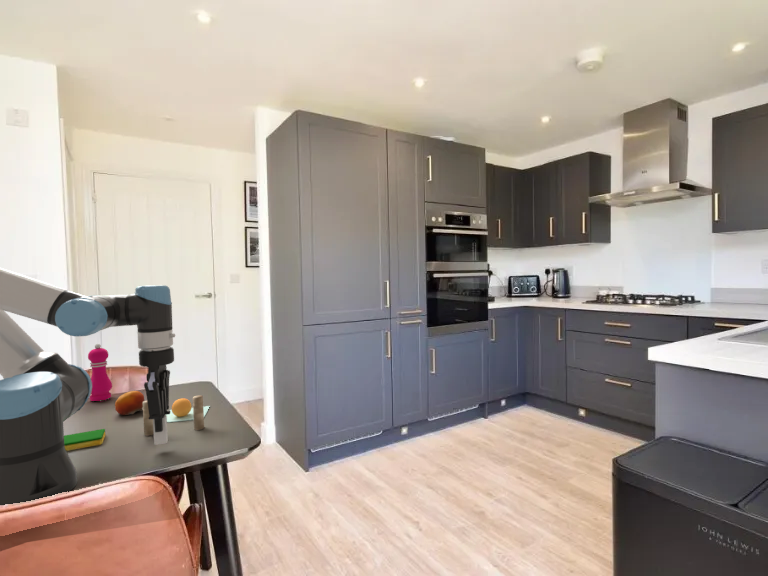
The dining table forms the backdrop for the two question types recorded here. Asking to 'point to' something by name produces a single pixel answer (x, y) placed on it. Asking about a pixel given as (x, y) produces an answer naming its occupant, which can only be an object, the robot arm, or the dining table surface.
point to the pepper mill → (99, 374)
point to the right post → (198, 412)
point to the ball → (181, 407)
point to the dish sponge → (84, 439)
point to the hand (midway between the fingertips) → (161, 442)
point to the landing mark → (189, 416)
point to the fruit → (129, 403)
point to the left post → (147, 420)
